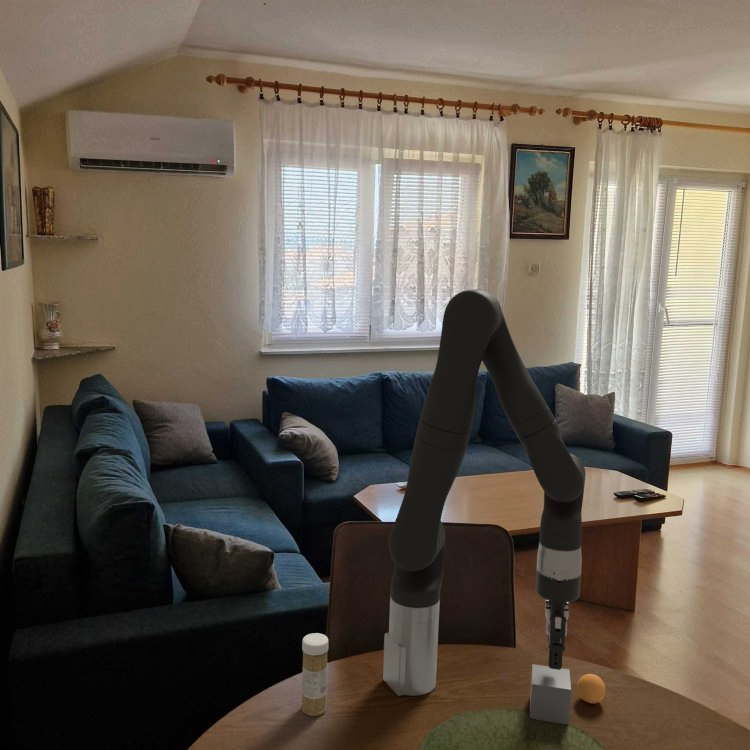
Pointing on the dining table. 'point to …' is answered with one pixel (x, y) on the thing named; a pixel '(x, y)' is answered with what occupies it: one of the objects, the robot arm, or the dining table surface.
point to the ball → (591, 688)
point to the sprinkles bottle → (314, 674)
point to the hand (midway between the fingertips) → (554, 655)
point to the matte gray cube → (550, 694)
